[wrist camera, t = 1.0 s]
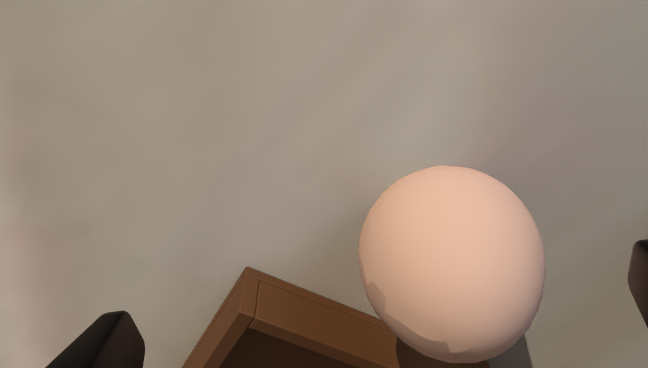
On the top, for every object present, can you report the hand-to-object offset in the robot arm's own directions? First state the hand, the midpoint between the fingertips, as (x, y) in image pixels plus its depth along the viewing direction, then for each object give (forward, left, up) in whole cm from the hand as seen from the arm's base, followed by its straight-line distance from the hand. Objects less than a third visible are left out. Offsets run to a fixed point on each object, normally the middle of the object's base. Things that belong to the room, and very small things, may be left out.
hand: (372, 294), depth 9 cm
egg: (-7, +4, -13) cm, 16 cm away
